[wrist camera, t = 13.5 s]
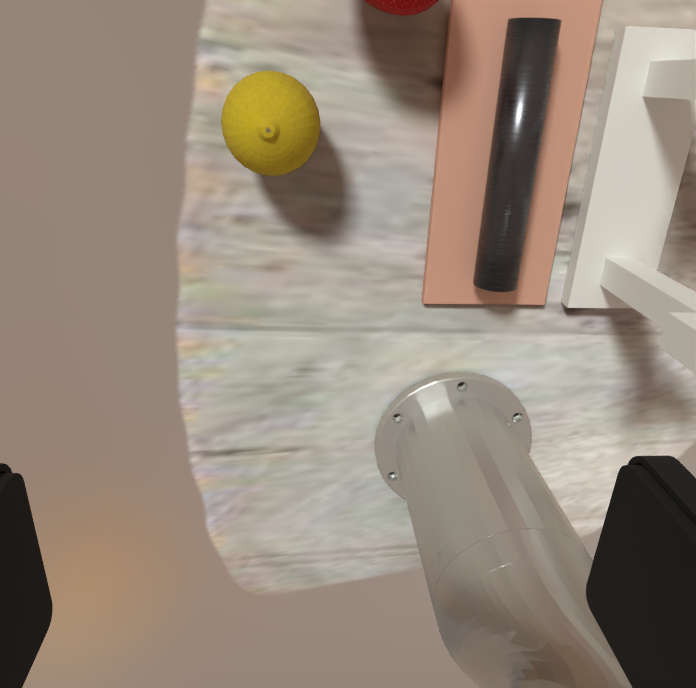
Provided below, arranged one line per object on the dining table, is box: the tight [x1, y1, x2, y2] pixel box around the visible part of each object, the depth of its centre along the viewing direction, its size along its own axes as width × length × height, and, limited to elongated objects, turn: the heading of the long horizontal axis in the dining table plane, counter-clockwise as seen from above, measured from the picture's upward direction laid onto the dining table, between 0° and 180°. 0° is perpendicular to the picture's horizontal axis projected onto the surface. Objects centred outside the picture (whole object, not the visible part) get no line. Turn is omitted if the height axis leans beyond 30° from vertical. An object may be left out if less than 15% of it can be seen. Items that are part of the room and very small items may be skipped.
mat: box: [422, 0, 602, 305], centre depth 39 cm, size 20×9×1 cm, turn 178°
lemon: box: [221, 71, 320, 176], centre depth 33 cm, size 6×6×8 cm
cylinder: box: [473, 18, 562, 292], centre depth 37 cm, size 16×3×3 cm, turn 178°
